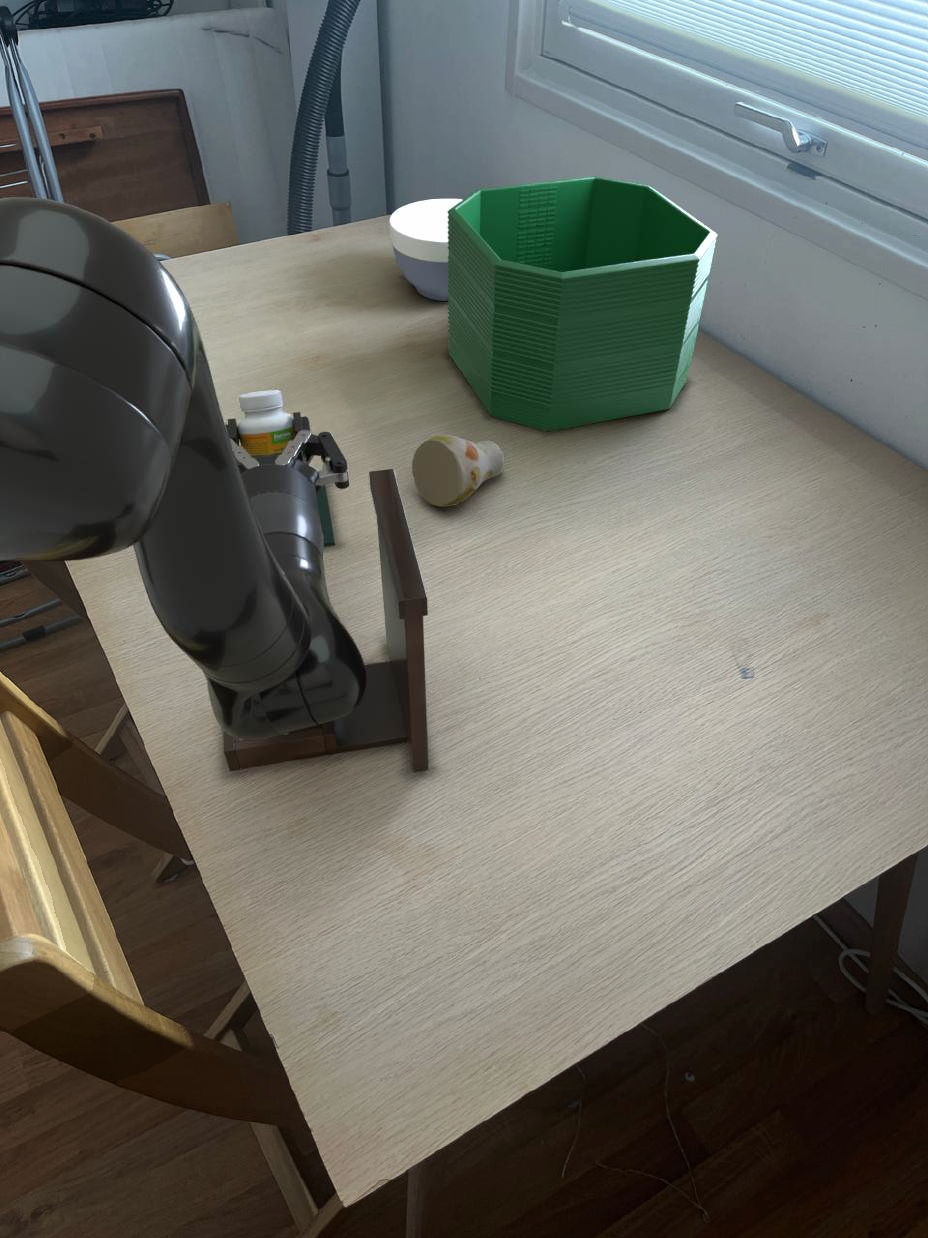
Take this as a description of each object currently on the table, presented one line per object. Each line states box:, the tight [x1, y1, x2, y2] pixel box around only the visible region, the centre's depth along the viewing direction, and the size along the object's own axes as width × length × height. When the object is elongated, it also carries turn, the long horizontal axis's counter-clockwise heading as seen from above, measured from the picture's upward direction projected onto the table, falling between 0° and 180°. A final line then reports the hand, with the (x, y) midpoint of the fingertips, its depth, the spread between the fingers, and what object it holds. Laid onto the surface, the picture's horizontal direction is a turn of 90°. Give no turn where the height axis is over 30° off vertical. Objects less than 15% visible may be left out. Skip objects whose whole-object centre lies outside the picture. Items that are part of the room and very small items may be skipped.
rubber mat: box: [317, 485, 336, 548], centre depth 88 cm, size 10×10×1 cm
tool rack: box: [222, 468, 429, 773], centre depth 64 cm, size 15×14×18 cm
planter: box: [447, 176, 719, 432], centre depth 104 cm, size 26×26×18 cm
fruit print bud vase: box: [411, 434, 505, 507], centre depth 90 cm, size 8×10×10 cm
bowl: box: [388, 198, 464, 302], centre depth 124 cm, size 16×16×10 cm
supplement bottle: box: [237, 389, 296, 456], centre depth 84 cm, size 5×5×10 cm
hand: (265, 424), depth 83 cm, fingers closed on supplement bottle, 5 cm apart
